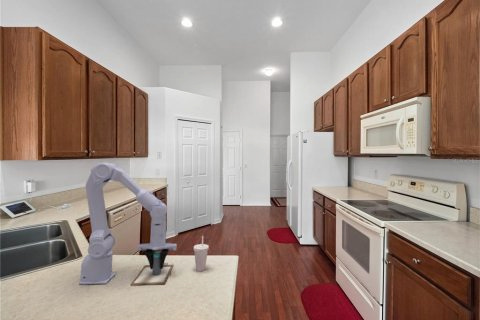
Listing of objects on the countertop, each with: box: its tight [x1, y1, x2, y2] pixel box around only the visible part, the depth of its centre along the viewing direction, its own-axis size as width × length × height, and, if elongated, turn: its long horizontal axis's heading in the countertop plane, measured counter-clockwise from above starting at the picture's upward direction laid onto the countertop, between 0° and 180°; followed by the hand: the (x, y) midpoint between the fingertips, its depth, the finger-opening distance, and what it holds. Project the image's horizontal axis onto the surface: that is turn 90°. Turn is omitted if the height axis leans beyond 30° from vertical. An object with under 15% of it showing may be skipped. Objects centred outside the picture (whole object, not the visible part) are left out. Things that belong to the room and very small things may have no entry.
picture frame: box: [130, 262, 174, 287], centre depth 88 cm, size 12×16×1 cm
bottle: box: [152, 250, 161, 275], centre depth 88 cm, size 3×3×8 cm
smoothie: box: [193, 235, 210, 273], centre depth 93 cm, size 6×6×14 cm
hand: (156, 268), depth 88 cm, fingers closed on bottle, 3 cm apart
